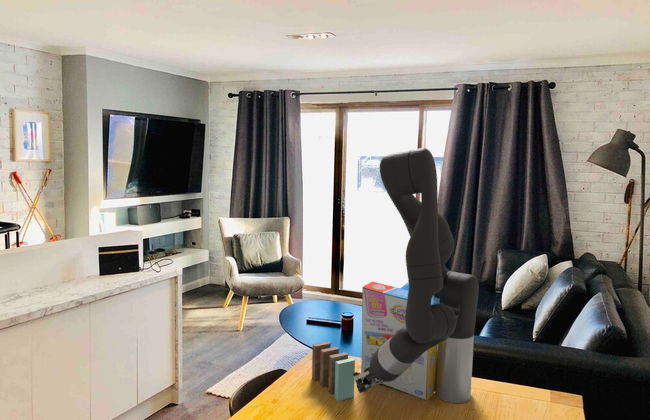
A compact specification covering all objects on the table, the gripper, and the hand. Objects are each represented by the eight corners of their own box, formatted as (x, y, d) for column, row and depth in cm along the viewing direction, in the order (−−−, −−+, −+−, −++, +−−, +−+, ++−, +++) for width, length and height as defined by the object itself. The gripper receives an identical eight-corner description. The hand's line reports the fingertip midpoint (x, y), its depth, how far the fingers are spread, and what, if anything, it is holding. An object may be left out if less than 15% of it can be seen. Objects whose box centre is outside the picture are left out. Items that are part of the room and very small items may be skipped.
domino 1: (330, 377, 149) (330, 343, 148) (314, 380, 146) (315, 346, 145) (327, 374, 150) (327, 341, 149) (311, 378, 148) (312, 344, 147)
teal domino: (353, 396, 137) (354, 360, 136) (337, 401, 135) (338, 363, 134) (350, 394, 139) (351, 358, 138) (334, 398, 136) (335, 361, 135)
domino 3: (347, 389, 141) (348, 354, 140) (331, 393, 139) (332, 357, 137) (344, 387, 143) (344, 352, 141) (328, 391, 140) (329, 355, 139)
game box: (436, 392, 140) (441, 298, 134) (427, 402, 136) (432, 305, 130) (369, 367, 152) (372, 280, 146) (359, 376, 148) (361, 286, 142)
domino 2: (338, 383, 145) (339, 348, 144) (322, 387, 142) (323, 351, 141) (335, 380, 146) (336, 346, 145) (319, 384, 144) (320, 349, 143)
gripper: (409, 338, 124) (376, 369, 135) (363, 347, 117) (332, 379, 129) (422, 368, 120) (387, 397, 131) (376, 379, 113) (343, 409, 125)
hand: (360, 388), depth 130 cm, fingers closed
